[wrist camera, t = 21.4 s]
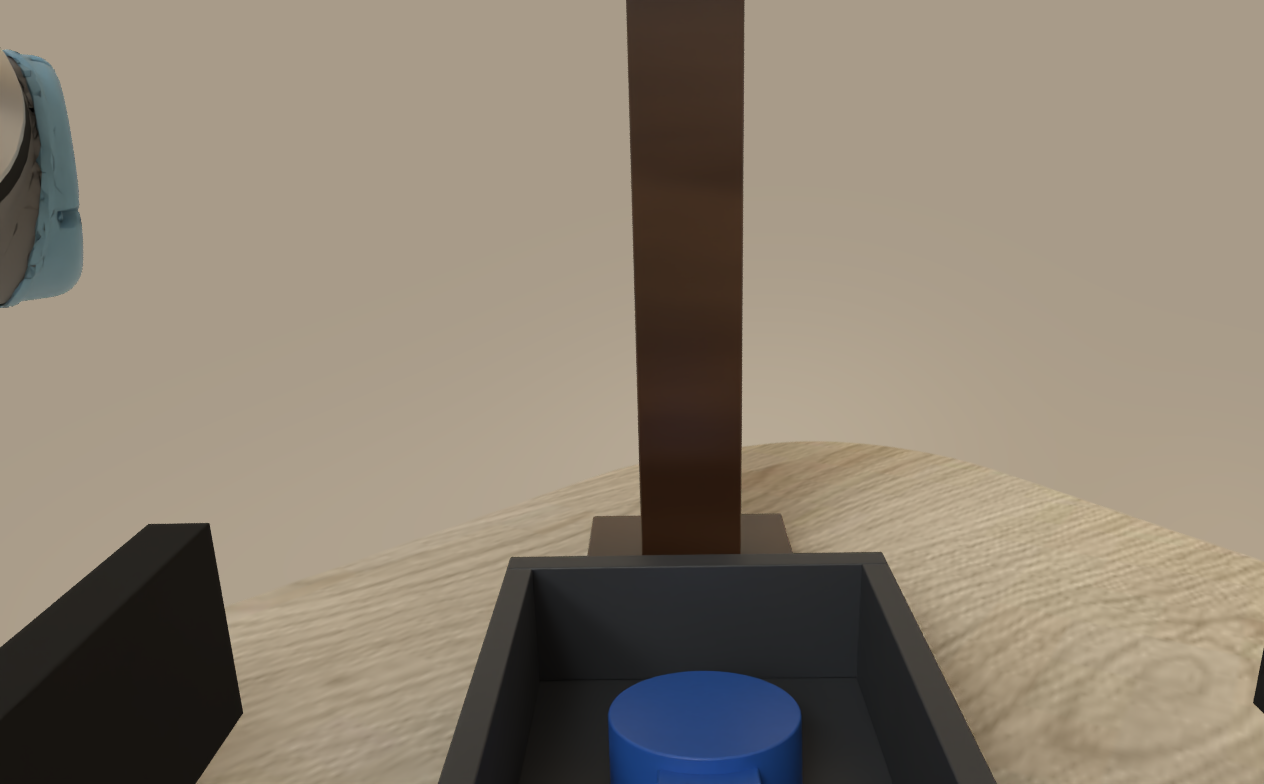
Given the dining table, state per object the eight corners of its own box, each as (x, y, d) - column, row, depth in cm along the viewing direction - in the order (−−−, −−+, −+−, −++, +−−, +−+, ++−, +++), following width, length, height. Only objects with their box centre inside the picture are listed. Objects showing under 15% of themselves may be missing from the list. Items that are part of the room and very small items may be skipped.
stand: (594, 547, 40) (557, -294, 31) (780, 544, 40) (797, -304, 31) (579, 651, 33) (524, -421, 24) (809, 648, 33) (843, -436, 23)
